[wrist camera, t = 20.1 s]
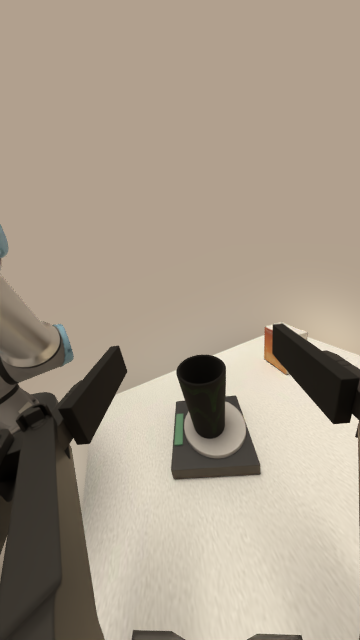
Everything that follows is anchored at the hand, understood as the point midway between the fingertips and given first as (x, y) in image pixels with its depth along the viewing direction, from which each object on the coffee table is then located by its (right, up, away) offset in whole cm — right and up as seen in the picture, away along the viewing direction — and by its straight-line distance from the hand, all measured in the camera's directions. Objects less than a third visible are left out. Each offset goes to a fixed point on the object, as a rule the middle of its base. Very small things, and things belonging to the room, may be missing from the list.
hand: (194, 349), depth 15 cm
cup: (+4, -16, +16) cm, 23 cm away
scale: (+4, -19, +17) cm, 26 cm away
